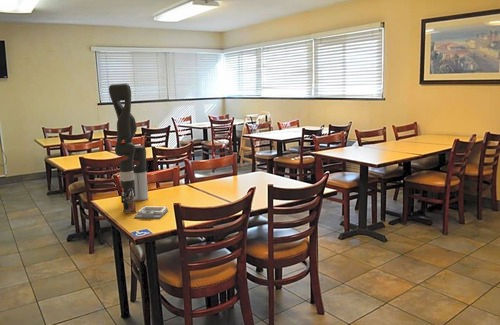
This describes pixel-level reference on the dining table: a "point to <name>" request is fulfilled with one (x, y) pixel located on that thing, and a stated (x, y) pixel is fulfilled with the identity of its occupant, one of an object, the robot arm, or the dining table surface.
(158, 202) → the dining table surface
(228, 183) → the dining table surface
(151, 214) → the grey flat square tray
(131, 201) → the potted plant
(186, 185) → the dining table surface
